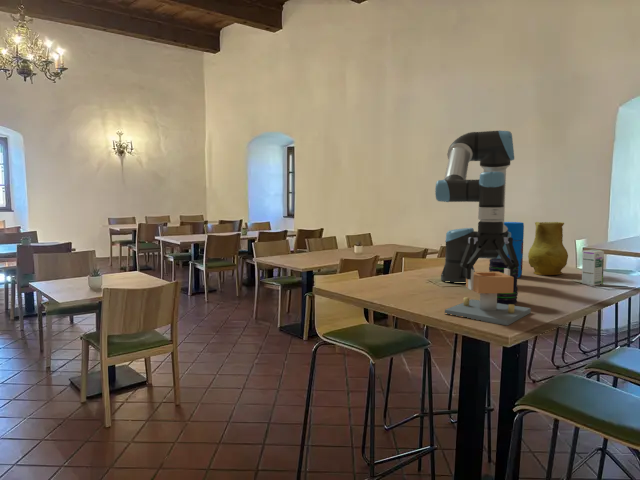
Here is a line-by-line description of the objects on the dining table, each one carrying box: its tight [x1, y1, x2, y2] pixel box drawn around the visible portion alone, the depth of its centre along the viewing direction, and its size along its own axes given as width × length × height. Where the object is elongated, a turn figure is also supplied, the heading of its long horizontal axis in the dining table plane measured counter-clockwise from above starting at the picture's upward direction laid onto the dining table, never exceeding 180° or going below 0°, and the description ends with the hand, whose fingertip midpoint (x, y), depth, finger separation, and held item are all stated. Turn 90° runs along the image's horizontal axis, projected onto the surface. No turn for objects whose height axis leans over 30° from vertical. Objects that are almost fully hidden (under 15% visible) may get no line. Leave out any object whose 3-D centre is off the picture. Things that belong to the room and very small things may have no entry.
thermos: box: [504, 221, 525, 279], centre depth 221 cm, size 11×11×25 cm
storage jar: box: [488, 258, 519, 305], centre depth 169 cm, size 10×10×15 cm
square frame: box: [465, 271, 514, 294], centre depth 152 cm, size 11×11×5 cm
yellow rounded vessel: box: [527, 221, 569, 276], centre depth 226 cm, size 17×19×25 cm
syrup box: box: [581, 249, 605, 286], centre depth 201 cm, size 6×6×14 cm
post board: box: [444, 293, 532, 326], centre depth 153 cm, size 20×20×7 cm
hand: (488, 289), depth 152 cm, fingers closed on square frame, 11 cm apart
